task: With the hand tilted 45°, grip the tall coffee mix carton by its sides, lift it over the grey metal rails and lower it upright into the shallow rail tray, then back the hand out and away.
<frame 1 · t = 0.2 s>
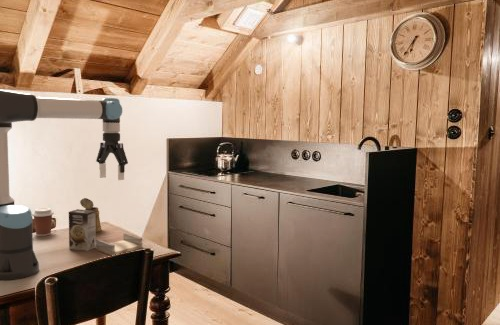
hand: (111, 178, 196), 28 cm above the table, tool pointing down, fingers open, 13 cm apart
coffee box: (82, 248, 182), on the table
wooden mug: (90, 232, 208), on the table
coffee cup: (43, 234, 202), on the table
shallow rail tray: (119, 248, 183), on the table
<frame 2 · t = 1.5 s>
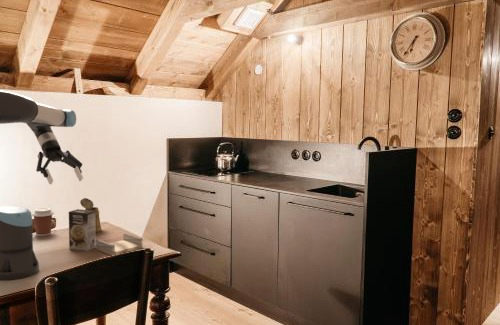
hand: (66, 180, 187), 28 cm above the table, tool tilted 45°, fingers open, 13 cm apart
nothing on the table moved.
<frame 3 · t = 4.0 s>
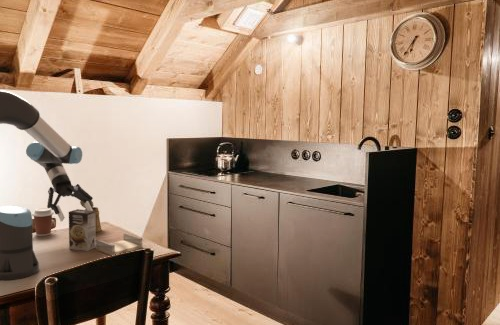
hand: (77, 216, 185), 12 cm above the table, tool tilted 45°, fingers open, 13 cm apart
nothing on the table moved.
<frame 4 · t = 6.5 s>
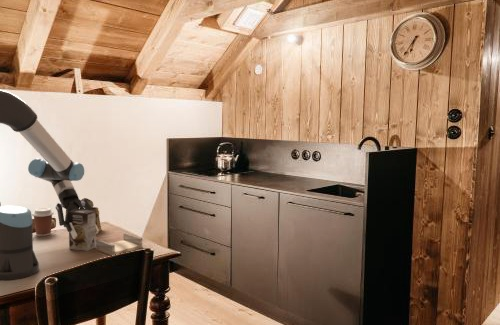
hand: (86, 234, 180), 6 cm above the table, tool tilted 45°, fingers closed on coffee box, 9 cm apart
coffee box: (82, 248, 182), on the table, touching gripper
everything else where it was.
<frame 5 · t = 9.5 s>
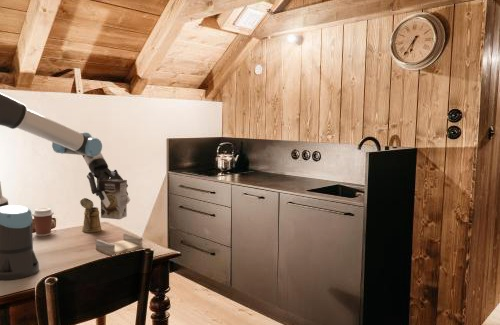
hand: (118, 203, 179), 20 cm above the table, tool tilted 45°, fingers closed on coffee box, 9 cm apart
coffee box: (114, 217, 182), point 13 cm above the table, touching gripper
everything else where it was.
when the fingers open (9 cm above the table, at t = 12.9 s): coffee box drops 1 cm, resting on shallow rail tray.
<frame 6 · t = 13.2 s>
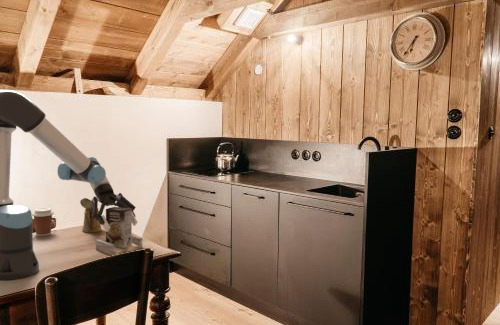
hand: (122, 227, 180), 10 cm above the table, tool tilted 45°, fingers open, 13 cm apart
coffee box: (118, 246, 182), point 1 cm above the table, touching shallow rail tray
everything else where it was.
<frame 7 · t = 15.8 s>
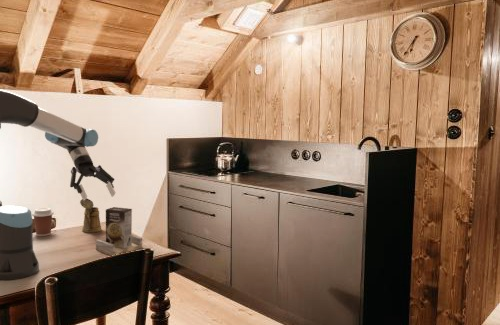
hand: (99, 196, 186), 21 cm above the table, tool tilted 45°, fingers open, 13 cm apart
nothing on the table moved.
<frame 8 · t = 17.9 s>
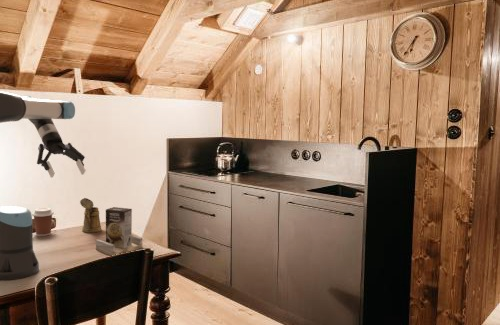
hand: (68, 174, 180), 32 cm above the table, tool tilted 45°, fingers open, 13 cm apart
nothing on the table moved.
at the end: coffee box inside the target area on the shallow rail tray (0.2 cm from its centre), point 1.0 cm above the shallow rail tray's base; coffee box tilted 0°; the gripper is holding nothing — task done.
